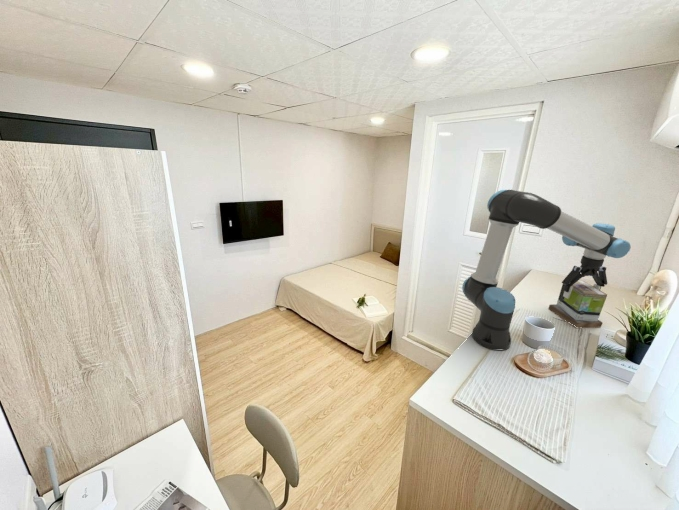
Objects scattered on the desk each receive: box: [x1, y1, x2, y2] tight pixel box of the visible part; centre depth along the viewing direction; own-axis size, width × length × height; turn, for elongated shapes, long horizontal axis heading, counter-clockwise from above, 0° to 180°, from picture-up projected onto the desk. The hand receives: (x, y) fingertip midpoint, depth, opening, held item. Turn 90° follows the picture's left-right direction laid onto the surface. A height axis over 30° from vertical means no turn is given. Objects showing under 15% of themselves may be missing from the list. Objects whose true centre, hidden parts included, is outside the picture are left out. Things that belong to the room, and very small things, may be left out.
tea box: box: [556, 280, 608, 321], centre depth 128 cm, size 15×10×15 cm
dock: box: [548, 303, 603, 329], centre depth 131 cm, size 12×17×3 cm
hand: (579, 297), depth 128 cm, fingers open, 13 cm apart
